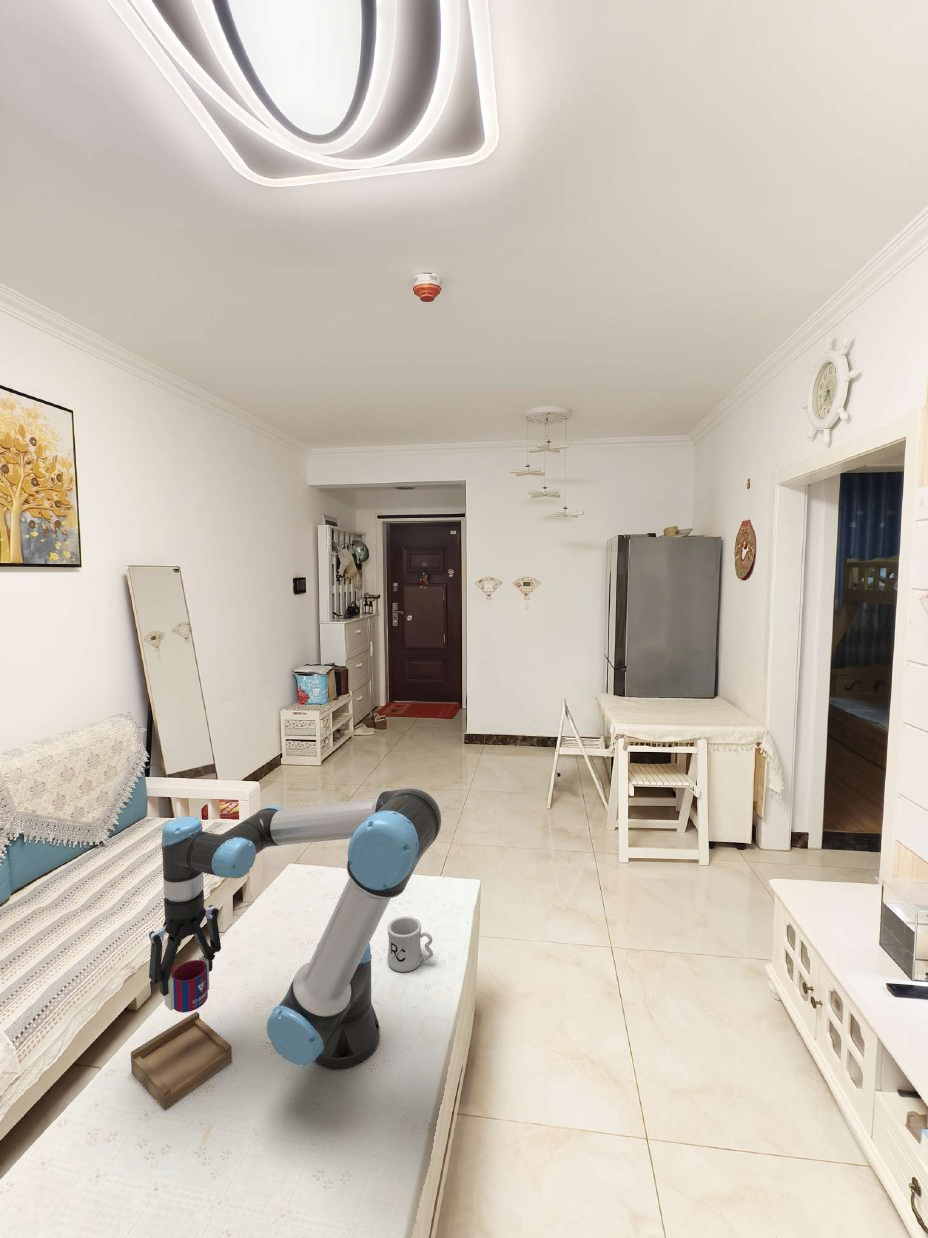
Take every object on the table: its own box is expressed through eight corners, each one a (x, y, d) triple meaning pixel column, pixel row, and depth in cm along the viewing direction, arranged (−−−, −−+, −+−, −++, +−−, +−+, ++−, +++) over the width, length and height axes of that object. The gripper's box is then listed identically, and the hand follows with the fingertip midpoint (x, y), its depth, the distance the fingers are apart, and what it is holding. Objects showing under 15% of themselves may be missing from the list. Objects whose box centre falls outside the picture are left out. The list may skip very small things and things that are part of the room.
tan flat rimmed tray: (231, 1061, 123) (231, 1041, 122) (164, 1110, 111) (164, 1088, 111) (197, 1030, 131) (196, 1011, 131) (131, 1072, 120) (130, 1052, 120)
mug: (382, 970, 151) (381, 933, 150) (394, 948, 160) (394, 913, 159) (427, 978, 148) (427, 941, 147) (437, 955, 157) (437, 920, 156)
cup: (188, 1017, 118) (187, 985, 118) (154, 1001, 122) (153, 971, 122) (214, 995, 124) (214, 965, 124) (181, 981, 128) (181, 952, 128)
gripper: (220, 868, 132) (223, 965, 133) (125, 906, 116) (130, 1015, 118) (237, 880, 127) (240, 980, 129) (141, 921, 112) (145, 1033, 114)
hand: (187, 996), depth 123 cm, fingers closed on cup, 7 cm apart
